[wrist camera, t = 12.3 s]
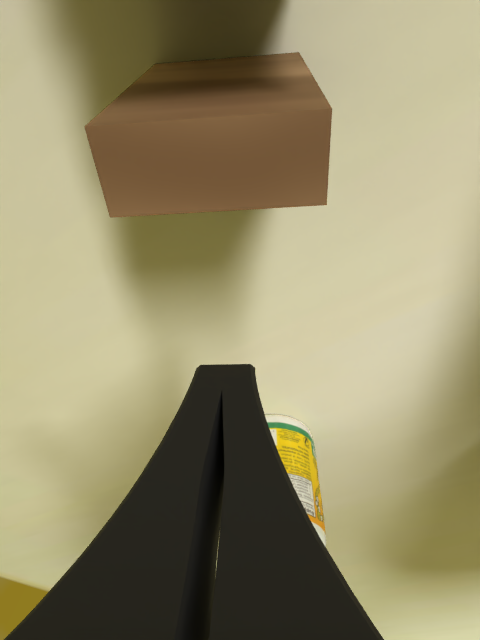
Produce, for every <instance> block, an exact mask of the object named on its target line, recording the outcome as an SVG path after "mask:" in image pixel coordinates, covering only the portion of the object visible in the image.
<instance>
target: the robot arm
mask: <svg viewBox="0 0 480 640" xmlns="http://www.w3.org/2000/svg"><path fill="white" fill-rule="evenodd" d="M219 533H220V536H219ZM218 540H219V547H218ZM217 549H218V557H217ZM216 560H217V568H216ZM215 575H216V578H215ZM4 640H384V639H383V638H382V636H381V635H380V633H379V632H378V630H377V629H376V627H375V626H374V624H373V623H372V621H371V620H370V618H369V617H368V615H367V614H366V612H365V610H364V609H363V607H362V606H361V604H360V603H359V601H358V600H357V598H356V597H355V595H354V594H353V592H352V590H351V589H350V587H349V585H348V584H347V582H346V580H345V579H344V577H343V575H342V574H341V572H340V571H339V569H338V567H337V566H336V564H335V562H334V561H333V559H332V557H331V556H330V554H329V552H328V551H327V549H326V547H325V546H324V544H323V542H322V540H321V538H320V537H319V535H318V533H317V531H316V529H315V528H314V526H313V524H312V522H311V520H310V518H309V516H308V515H307V513H306V511H305V509H304V507H303V505H302V503H301V501H300V499H299V497H298V495H297V493H296V491H295V489H294V487H293V484H292V482H291V480H290V478H289V476H288V474H287V471H286V469H285V467H284V464H283V462H282V460H281V458H280V455H279V453H278V450H277V448H276V445H275V443H274V440H273V437H272V434H271V432H270V429H269V426H268V423H267V421H266V418H265V414H264V411H263V408H262V404H261V401H260V397H259V393H258V388H257V383H256V376H255V367H253V366H252V365H251V364H232V365H200V366H199V367H198V368H197V369H196V371H195V374H194V377H193V379H192V382H191V384H190V387H189V389H188V391H187V393H186V395H185V398H184V400H183V402H182V404H181V406H180V408H179V410H178V412H177V414H176V416H175V418H174V419H173V421H172V423H171V425H170V427H169V429H168V430H167V432H166V434H165V436H164V438H163V440H162V441H161V443H160V445H159V446H158V448H157V450H156V451H155V453H154V454H153V456H152V458H151V459H150V461H149V463H148V464H147V466H146V467H145V469H144V471H143V472H142V474H141V475H140V477H139V478H138V480H137V481H136V483H135V484H134V486H133V487H132V489H131V490H130V492H129V493H128V494H127V496H126V497H125V499H124V500H123V501H122V503H121V504H120V506H119V507H118V508H117V510H116V511H115V513H114V514H113V515H112V517H111V518H110V519H109V520H108V522H107V523H106V524H105V526H104V527H103V528H102V529H101V531H100V532H99V533H98V535H97V536H96V537H95V538H94V540H93V541H92V542H91V543H90V545H89V546H88V547H87V548H86V550H85V551H84V552H83V553H82V554H81V556H80V557H79V558H78V559H77V560H76V562H75V563H74V564H73V565H72V566H71V567H70V569H69V570H68V571H67V572H66V573H65V574H64V575H63V576H62V578H61V579H60V580H59V581H58V582H57V583H56V584H55V585H54V587H53V588H52V589H51V590H50V591H49V592H48V593H47V595H46V596H45V597H44V598H43V599H42V600H41V601H40V602H39V604H38V605H37V606H36V607H35V608H34V609H33V610H32V611H31V612H30V613H29V614H28V615H27V616H26V618H25V619H24V620H23V621H22V622H21V623H20V624H19V625H18V626H17V627H16V628H15V629H14V630H13V631H12V632H11V633H10V634H9V635H8V636H7V637H6V638H5V639H4Z"/></svg>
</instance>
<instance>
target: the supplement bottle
mask: <svg viewBox="0 0 480 640" xmlns="http://www.w3.org/2000/svg"><path fill="white" fill-rule="evenodd" d="M265 418H266V421H267V423H268V426H269V429H270V432H271V434H272V437H273V440H274V443H275V445H276V448H277V450H278V453H279V455H280V458H281V460H282V462H283V464H284V467H285V469H286V471H287V474H288V476H289V478H290V480H291V482H292V484H293V487H294V489H295V491H296V493H297V495H298V497H299V499H300V501H301V503H302V505H303V507H304V509H305V511H306V513H307V515H308V516H309V518H310V520H311V522H312V524H313V526H314V528H315V529H316V531H317V533H318V535H319V537H320V538H321V540H322V542H323V544H324V546H325V547H326V534H325V525H324V517H323V508H322V501H321V493H320V486H319V480H318V469H317V463H316V454H315V447H314V441H313V437H312V434H311V432H310V430H309V429H308V428H307V427H306V426H305V425H304V424H303V423H302V422H300V421H299V420H296V419H294V418H292V417H288V416H284V415H276V414H271V415H265Z"/></svg>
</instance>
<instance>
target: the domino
mask: <svg viewBox="0 0 480 640" xmlns="http://www.w3.org/2000/svg"><path fill="white" fill-rule="evenodd" d="M331 118H332V108H331V106H330V104H329V103H328V101H327V99H326V98H325V96H324V94H323V93H322V91H321V89H320V87H319V86H318V84H317V82H316V81H315V79H314V77H313V75H312V74H311V72H310V70H309V69H308V67H307V65H306V64H305V62H304V60H303V58H302V57H301V55H300V53H299V52H297V53H285V54H272V55H260V56H248V57H235V58H223V59H211V60H198V61H186V62H174V63H161V64H155V65H153V66H152V67H151V68H150V69H149V70H148V71H147V72H146V73H144V74H143V75H142V76H141V77H140V78H139V79H138V80H137V81H135V82H134V83H133V84H132V85H131V86H130V87H129V88H127V89H126V90H125V91H124V92H123V93H122V94H121V95H120V96H118V97H117V98H116V99H115V100H114V101H113V102H112V103H111V104H109V105H108V106H107V107H106V108H105V109H104V110H103V111H102V112H100V113H99V114H98V115H97V116H96V117H95V118H94V119H92V120H91V121H90V122H89V123H88V124H87V125H86V126H85V130H86V134H87V137H88V141H89V144H90V148H91V151H92V155H93V158H94V162H95V166H96V169H97V173H98V176H99V180H100V183H101V187H102V190H103V194H104V198H105V201H106V205H107V208H108V212H109V215H110V217H126V216H144V215H161V214H178V213H196V212H213V211H231V210H248V209H265V208H283V207H300V206H317V205H327V189H328V171H329V153H330V135H331Z"/></svg>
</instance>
